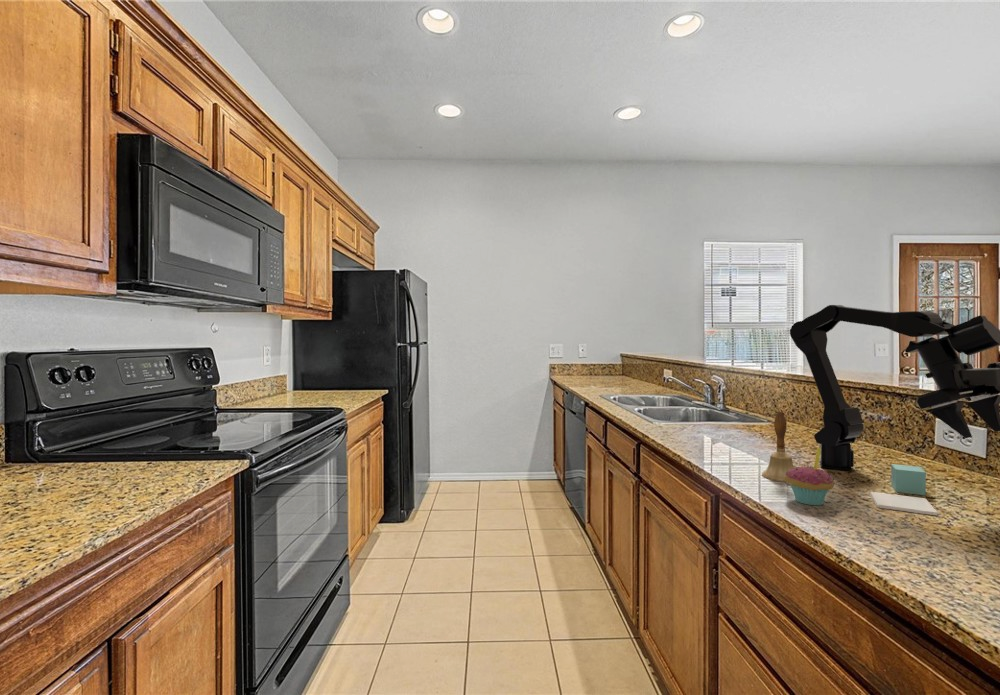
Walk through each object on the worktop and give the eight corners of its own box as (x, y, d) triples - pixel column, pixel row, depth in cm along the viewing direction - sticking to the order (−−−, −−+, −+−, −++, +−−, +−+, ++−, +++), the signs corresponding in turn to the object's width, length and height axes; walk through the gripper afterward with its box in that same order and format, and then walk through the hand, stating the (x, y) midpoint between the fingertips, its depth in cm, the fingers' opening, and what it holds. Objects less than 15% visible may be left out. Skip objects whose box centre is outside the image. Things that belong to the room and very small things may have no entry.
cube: (895, 492, 104) (895, 469, 104) (891, 485, 108) (891, 464, 108) (925, 495, 101) (925, 472, 101) (920, 489, 106) (920, 466, 106)
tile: (877, 507, 95) (877, 504, 95) (870, 494, 102) (870, 491, 102) (937, 515, 90) (937, 512, 90) (925, 501, 98) (925, 498, 98)
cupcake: (826, 497, 101) (826, 440, 101) (840, 511, 93) (840, 449, 93) (780, 493, 104) (780, 438, 104) (790, 506, 96) (790, 446, 96)
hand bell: (764, 480, 113) (764, 413, 113) (759, 471, 121) (759, 408, 121) (804, 484, 110) (805, 415, 110) (797, 474, 118) (797, 409, 117)
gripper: (953, 353, 94) (998, 431, 88) (1015, 345, 99) (1062, 418, 93) (899, 373, 104) (936, 444, 98) (958, 364, 109) (996, 431, 103)
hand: (983, 434), depth 98 cm, fingers open, 9 cm apart
